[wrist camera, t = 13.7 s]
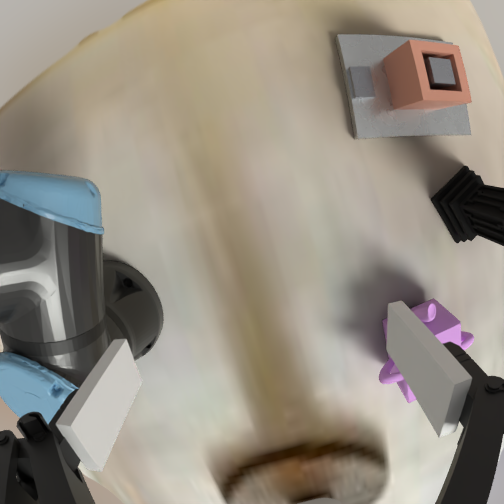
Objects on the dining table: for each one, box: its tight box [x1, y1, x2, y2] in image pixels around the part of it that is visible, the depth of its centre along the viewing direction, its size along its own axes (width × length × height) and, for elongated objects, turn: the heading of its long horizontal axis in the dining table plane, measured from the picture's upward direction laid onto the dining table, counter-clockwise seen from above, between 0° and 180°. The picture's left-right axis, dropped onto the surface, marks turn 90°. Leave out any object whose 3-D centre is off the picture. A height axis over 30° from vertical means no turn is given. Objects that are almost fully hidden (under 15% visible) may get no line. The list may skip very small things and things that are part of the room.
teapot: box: [379, 299, 474, 403], centre depth 40 cm, size 15×13×11 cm
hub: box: [383, 40, 472, 110], centre depth 30 cm, size 7×7×8 cm
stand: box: [335, 34, 471, 139], centre depth 31 cm, size 18×14×10 cm
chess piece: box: [431, 166, 504, 246], centre depth 30 cm, size 8×8×20 cm
